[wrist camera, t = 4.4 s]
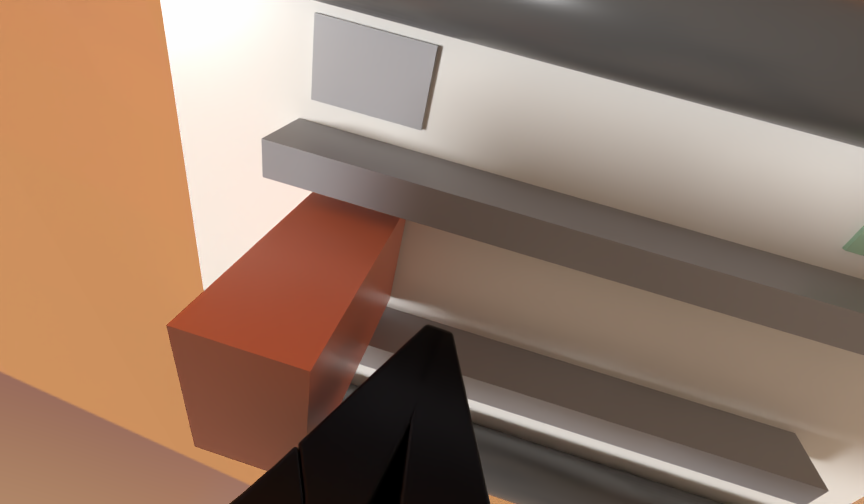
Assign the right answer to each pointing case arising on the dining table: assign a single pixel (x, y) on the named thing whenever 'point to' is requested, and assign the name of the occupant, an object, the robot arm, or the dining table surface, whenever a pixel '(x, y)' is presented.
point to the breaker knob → (285, 329)
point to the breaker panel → (574, 218)
